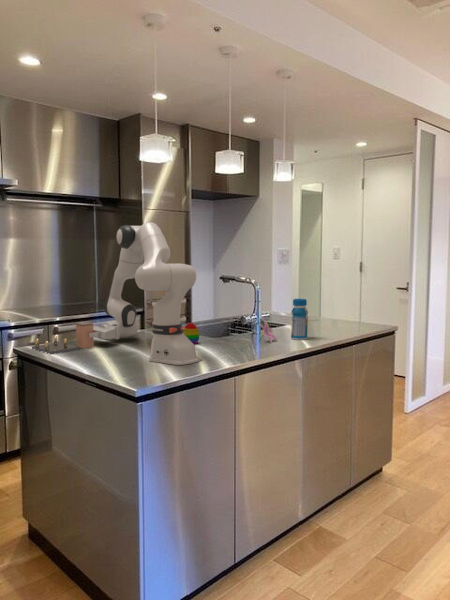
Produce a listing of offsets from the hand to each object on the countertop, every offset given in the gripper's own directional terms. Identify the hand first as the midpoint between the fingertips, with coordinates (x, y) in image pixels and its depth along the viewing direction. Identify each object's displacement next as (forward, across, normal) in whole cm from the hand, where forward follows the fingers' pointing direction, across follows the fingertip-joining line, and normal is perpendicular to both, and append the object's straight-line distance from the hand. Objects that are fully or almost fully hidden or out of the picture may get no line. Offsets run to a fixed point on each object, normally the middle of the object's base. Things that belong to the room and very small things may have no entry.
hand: (83, 334), depth 223 cm
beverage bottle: (-84, +63, +6) cm, 105 cm away
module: (-1, 0, +6) cm, 6 cm away
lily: (-67, +55, +6) cm, 87 cm away
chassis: (+11, -5, +6) cm, 14 cm away
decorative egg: (-39, +31, +6) cm, 50 cm away
